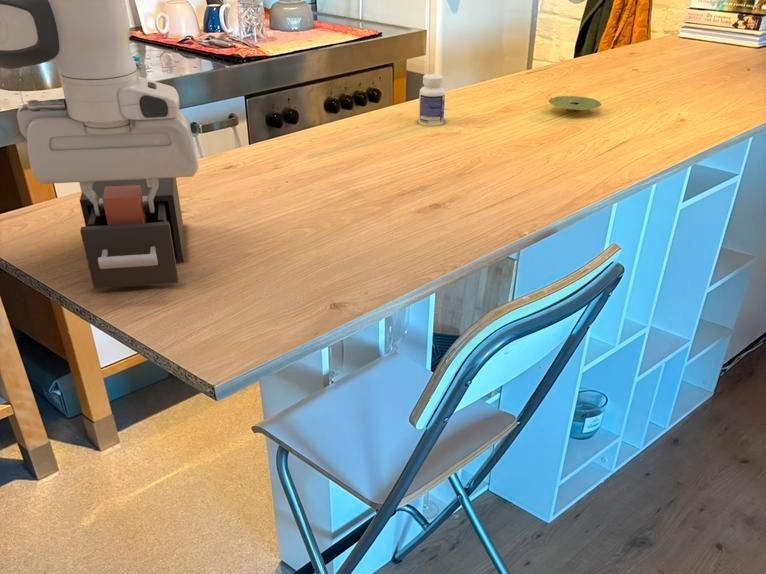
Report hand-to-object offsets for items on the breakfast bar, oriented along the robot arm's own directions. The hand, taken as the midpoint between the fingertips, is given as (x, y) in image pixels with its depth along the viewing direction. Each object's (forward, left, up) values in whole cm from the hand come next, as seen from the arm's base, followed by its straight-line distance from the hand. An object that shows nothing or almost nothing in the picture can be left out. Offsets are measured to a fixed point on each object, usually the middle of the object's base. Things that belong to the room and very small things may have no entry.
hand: (125, 213), depth 106 cm
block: (0, 0, -2) cm, 2 cm away
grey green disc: (+90, +70, -9) cm, 114 cm away
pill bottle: (+57, +66, -9) cm, 88 cm away
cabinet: (0, +10, -9) cm, 13 cm away
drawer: (0, -1, -8) cm, 8 cm away
